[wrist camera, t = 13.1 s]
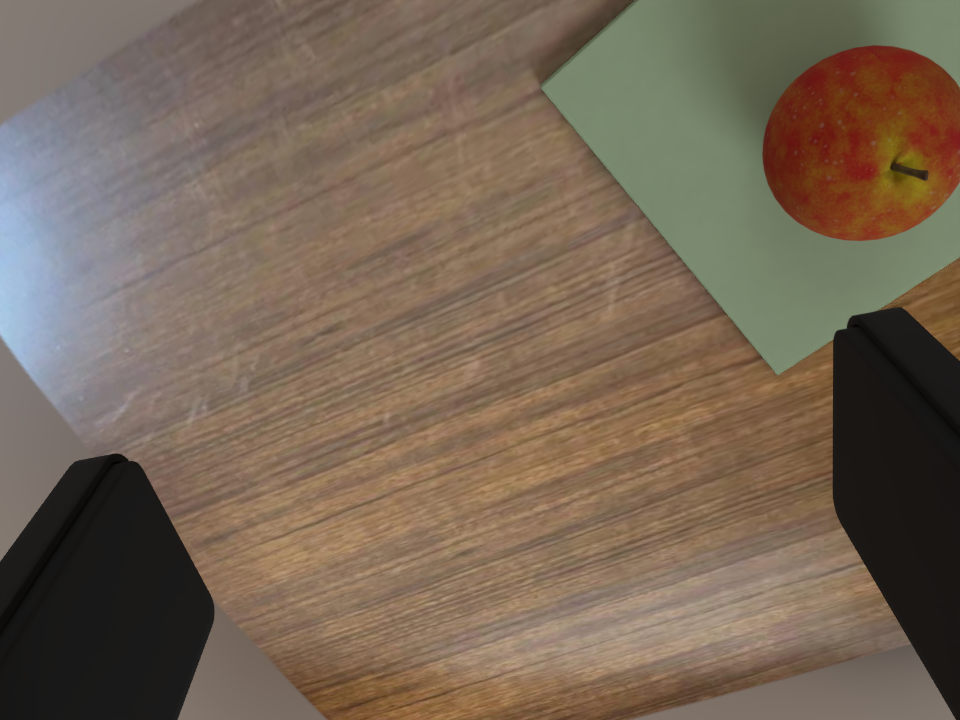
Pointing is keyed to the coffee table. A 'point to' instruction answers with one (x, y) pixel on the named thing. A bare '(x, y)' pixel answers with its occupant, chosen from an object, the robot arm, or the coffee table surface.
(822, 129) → the fruit
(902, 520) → the robot arm
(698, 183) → the mat
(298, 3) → the coffee table surface
